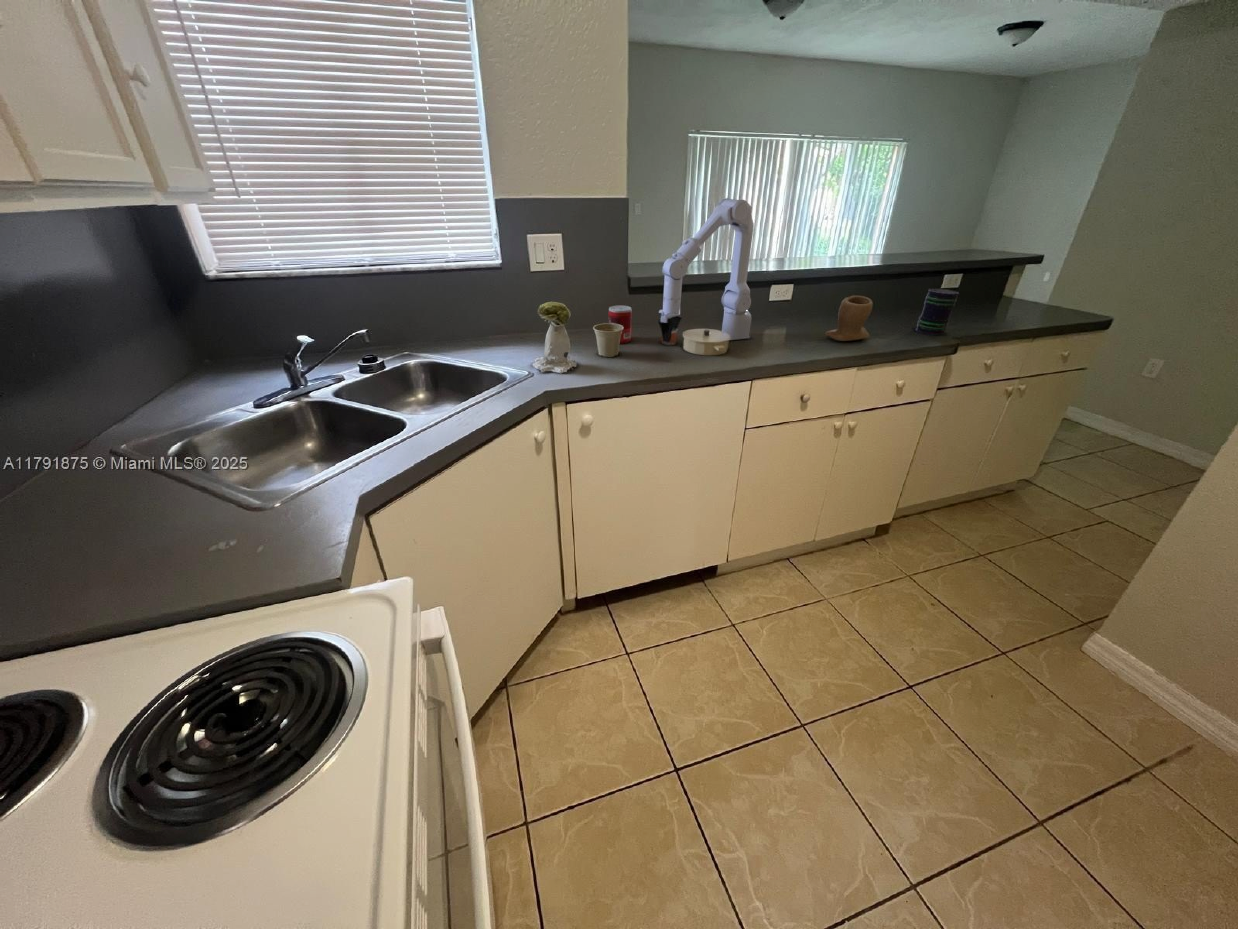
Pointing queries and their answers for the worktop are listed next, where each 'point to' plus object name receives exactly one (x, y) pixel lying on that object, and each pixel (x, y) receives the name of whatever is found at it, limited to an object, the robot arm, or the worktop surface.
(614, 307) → the canned food
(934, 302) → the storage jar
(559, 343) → the mossy mushroom figurine
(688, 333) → the pot lid
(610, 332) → the flower pot
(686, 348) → the pot
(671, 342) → the tin can
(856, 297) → the brown clay vase
